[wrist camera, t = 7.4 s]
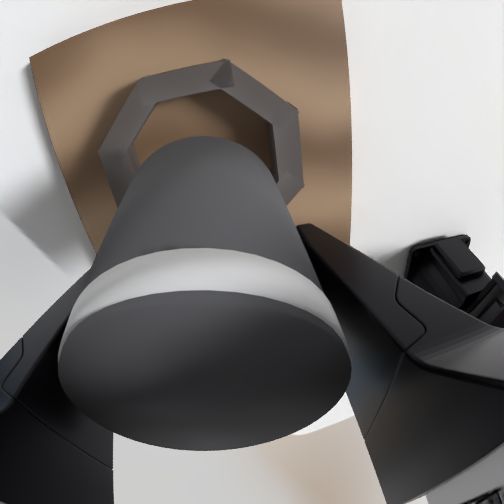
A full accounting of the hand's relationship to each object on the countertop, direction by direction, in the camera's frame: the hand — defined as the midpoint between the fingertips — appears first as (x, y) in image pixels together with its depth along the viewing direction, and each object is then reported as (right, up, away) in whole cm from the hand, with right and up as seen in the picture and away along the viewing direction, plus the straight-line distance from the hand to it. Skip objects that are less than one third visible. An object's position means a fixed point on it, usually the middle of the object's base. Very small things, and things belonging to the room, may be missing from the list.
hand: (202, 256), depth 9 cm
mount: (-1, +6, +8) cm, 10 cm away
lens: (0, +2, +2) cm, 2 cm away
